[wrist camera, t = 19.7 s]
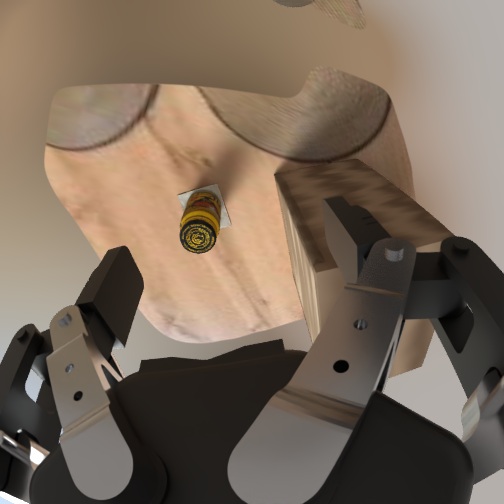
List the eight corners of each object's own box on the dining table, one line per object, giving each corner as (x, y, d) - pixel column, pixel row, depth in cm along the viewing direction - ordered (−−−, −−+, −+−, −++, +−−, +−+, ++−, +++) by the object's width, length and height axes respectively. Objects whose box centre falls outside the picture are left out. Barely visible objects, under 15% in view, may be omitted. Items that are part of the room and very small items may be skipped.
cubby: (357, 158, 48) (456, 236, 24) (362, 261, 60) (421, 366, 36) (274, 174, 49) (315, 272, 25) (293, 277, 61) (325, 396, 37)
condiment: (217, 182, 49) (213, 211, 39) (231, 225, 54) (231, 262, 43) (177, 195, 50) (163, 226, 40) (194, 235, 54) (185, 274, 44)
